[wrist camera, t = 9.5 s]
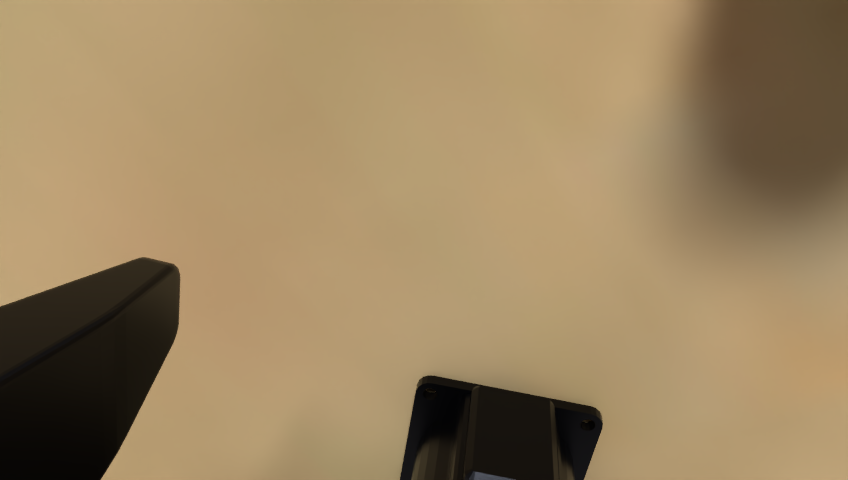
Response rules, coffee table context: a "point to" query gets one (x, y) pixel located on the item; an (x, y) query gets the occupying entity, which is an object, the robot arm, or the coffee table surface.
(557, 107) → the coffee table surface
